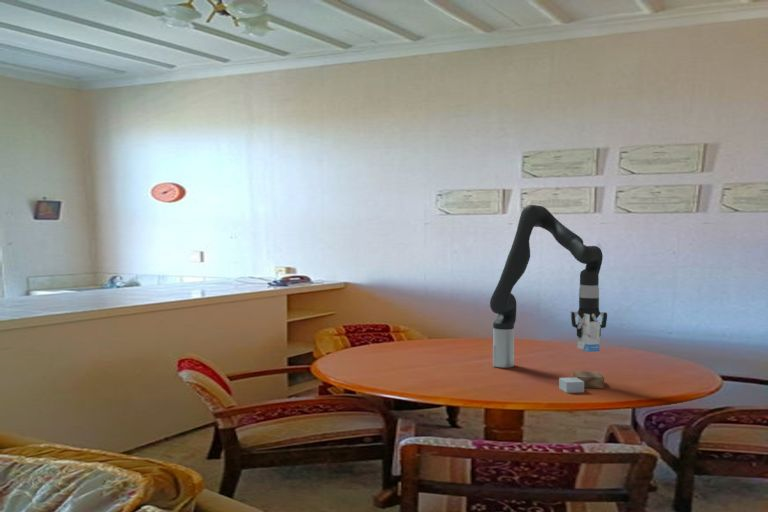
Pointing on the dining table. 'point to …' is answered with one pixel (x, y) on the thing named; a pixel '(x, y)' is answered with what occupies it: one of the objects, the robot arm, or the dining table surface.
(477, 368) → the dining table surface
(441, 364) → the dining table surface
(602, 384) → the tan block
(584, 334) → the ink box
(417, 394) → the dining table surface
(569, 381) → the grey block
